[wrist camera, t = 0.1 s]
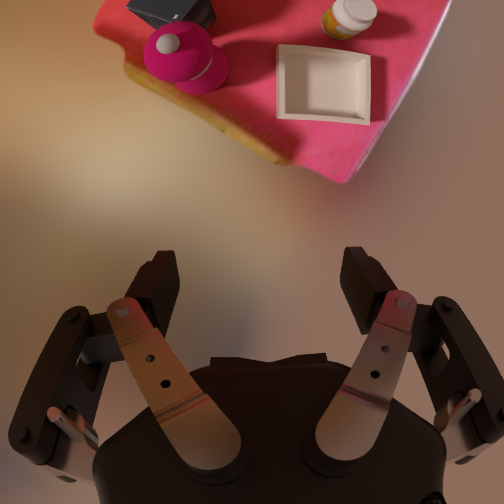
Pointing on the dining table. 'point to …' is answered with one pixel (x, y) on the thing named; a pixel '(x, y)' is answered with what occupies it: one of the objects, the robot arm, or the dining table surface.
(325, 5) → the dining table surface
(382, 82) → the dining table surface
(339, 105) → the tub
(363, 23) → the supplement bottle
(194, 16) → the box
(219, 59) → the pepper mill
